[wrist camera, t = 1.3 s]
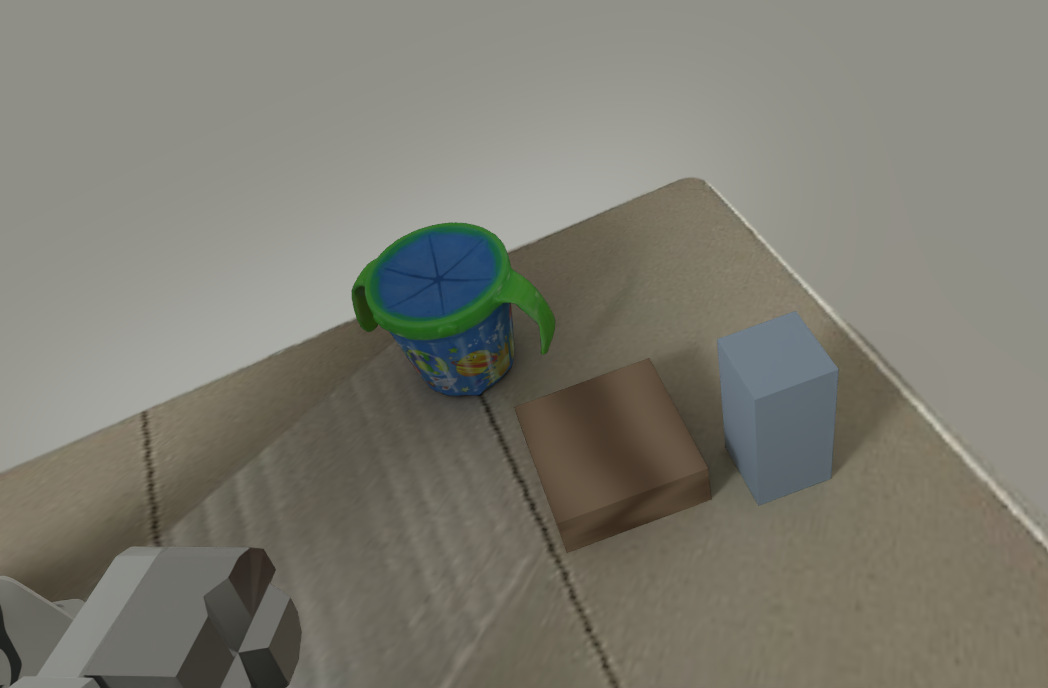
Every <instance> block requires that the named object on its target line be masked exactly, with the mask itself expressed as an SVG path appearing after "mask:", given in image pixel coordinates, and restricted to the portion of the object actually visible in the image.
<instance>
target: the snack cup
mask: <svg viewBox="0 0 1048 688" xmlns="http://www.w3.org/2000/svg"><path fill="white" fill-rule="evenodd" d="M352 301H353V306H354V311H355V314H356V317H357V320H358V322H359V324H360V326H361V327H362V328H363V329H364V330H365V331H367V332H371V331H373V330H374V329H375V328H376V327H377V325H378V324H379V325H380V326H381V327H382V328H383V329H385V330H387V331H390V333H391V334H392V336H393V337H394V339H395V340H396V342H397V343H398V345H399V346H400V347H401V349H402V350H403V352H404V353H405V354H406V356H407V358H408V359H409V360H410V362H411V363H412V365H413V366H414V368H415V369H416V370H417V371H418V372H419V374H420V375H421V377H422V378H423V379H424V381H425V382H426V383H427V384H428V385H429V387H430V388H432V389H433V390H434V391H439V392H441V393H443V394H445V395H451V396H453V395H454V396H461V395H480V394H481V393H482V392H483V391H484V390H485V389H486V388H488V387H490V386H492V385H493V384H495V383H496V382H497V381H499V380H500V379H501V378H502V377H503V376H504V375H505V374H506V372H507V371H508V370H509V369H510V368H511V365H512V363H513V357H514V337H513V322H512V312H511V303H514V304H516V305H517V306H518V307H519V308H520V309H522V310H523V311H524V312H525V313H526V314H528V316H530V317H531V318H532V319H533V320H534V321H535V322H537V324H538V325H539V329H540V340H541V354H546V353H547V351H548V348H549V346H550V343H551V340H552V337H553V334H554V330H555V318H554V315H553V313H552V311H551V310H550V307H549V306H548V304H547V302H546V301H545V299H544V298H543V297H542V295H541V294H540V293H539V291H538V290H537V289H536V288H535V287H534V286H533V285H532V284H531V283H530V282H529V281H528V280H527V279H525V278H524V277H523V276H522V275H520V274H518V273H517V272H515V271H514V270H513V269H512V268H511V265H510V260H509V257H508V254H507V251H506V249H505V246H504V245H503V243H502V242H501V240H500V239H499V238H498V237H497V236H496V235H495V234H493V233H491V232H490V231H488V230H486V229H484V228H482V227H479V226H476V225H471V224H467V223H444V224H437V225H432V226H428V227H425V228H422V229H419V230H416V231H414V232H411V233H410V234H408V235H405V236H403V237H402V238H400V239H398V240H397V241H395V242H394V243H393V244H392V245H390V246H389V247H387V248H386V249H385V250H384V251H383V252H382V253H381V254H380V256H379V257H378V258H377V259H375V260H373V261H371V262H370V263H369V264H368V265H367V266H366V267H365V268H364V269H363V271H362V272H361V273H360V275H359V277H358V278H357V280H356V282H355V283H354V286H353V289H352Z"/></svg>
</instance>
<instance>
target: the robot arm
mask: <svg viewBox="0 0 1048 688" xmlns="http://www.w3.org/2000/svg"><path fill="white" fill-rule="evenodd" d="M275 570H276V569H275V567H274V566H273V564H272V562H271V560H270V559H269V557H268V555H267V554H266V552H265V550H264V549H260V548H251V547H188V546H170V547H138V546H131V547H130V548H128V549H126V550H125V551H123V552H122V553H120V554H119V555H117V556H116V557H115V559H114V560H113V562H112V563H111V565H110V566H109V568H108V569H107V571H106V572H105V574H104V575H103V577H102V578H101V580H100V581H99V583H98V584H97V586H96V587H95V589H94V590H93V592H92V593H91V595H90V596H89V598H88V599H87V601H86V602H84V601H83V600H81V599H69V600H62V601H55V602H50V601H48V600H47V599H45V598H44V597H42V596H40V595H39V594H37V593H36V592H34V591H32V590H31V589H29V588H28V587H26V586H24V585H23V584H21V583H20V582H18V581H16V580H15V579H13V578H10V577H7V576H0V688H286V687H287V686H288V685H289V683H290V681H291V678H292V675H293V673H294V670H295V668H296V665H297V662H298V660H299V651H300V642H301V633H302V632H301V626H300V621H299V616H298V612H297V610H296V608H295V606H294V604H293V602H292V600H291V598H290V597H289V596H288V595H287V594H285V593H284V592H282V591H281V590H279V589H278V588H276V587H275V586H274V585H272V584H271V583H270V582H271V580H272V578H273V575H274V573H275Z"/></svg>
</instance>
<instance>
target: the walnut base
mask: <svg viewBox="0 0 1048 688" xmlns="http://www.w3.org/2000/svg"><path fill="white" fill-rule="evenodd" d="M514 408H515V411H516V414H517V417H518V419H519V422H520V425H521V428H522V431H523V434H524V437H525V439H526V442H527V445H528V448H529V450H530V453H531V456H532V458H533V461H534V464H535V467H536V469H537V472H538V475H539V478H540V480H541V483H542V486H543V488H544V491H545V494H546V497H547V499H548V502H549V505H550V507H551V510H552V513H553V516H554V518H555V521H556V524H557V526H558V529H559V532H560V535H561V537H562V540H563V543H564V546H565V548H566V551H567V553H568V552H571V551H573V550H576V549H579V548H581V547H584V546H587V545H590V544H592V543H595V542H598V541H600V540H603V539H606V538H608V537H611V536H614V535H617V534H619V533H622V532H625V531H627V530H630V529H633V528H635V527H638V526H641V525H644V524H646V523H649V522H652V521H654V520H657V519H660V518H662V517H665V516H668V515H671V514H673V513H676V512H679V511H681V510H684V509H687V508H689V507H692V506H695V505H698V504H700V503H703V502H706V501H708V500H711V491H710V481H709V472H708V467H707V465H706V463H705V461H704V460H703V458H702V456H701V454H700V452H699V450H698V448H697V446H696V445H695V443H694V441H693V439H692V437H691V435H690V433H689V432H688V430H687V428H686V426H685V424H684V422H683V420H682V418H681V417H680V415H679V413H678V411H677V409H676V407H675V405H674V403H673V402H672V400H671V398H670V396H669V394H668V392H667V390H666V389H665V387H664V385H663V383H662V381H661V379H660V377H659V375H658V374H657V372H656V370H655V368H654V366H653V364H652V362H651V361H650V359H649V358H648V359H646V360H643V361H640V362H637V363H634V364H632V365H629V366H626V367H623V368H621V369H618V370H615V371H612V372H610V373H607V374H604V375H601V376H599V377H596V378H593V379H590V380H588V381H585V382H582V383H579V384H577V385H574V386H571V387H568V388H566V389H563V390H560V391H557V392H555V393H552V394H549V395H546V396H543V397H541V398H538V399H535V400H532V401H530V402H527V403H524V404H521V405H519V406H516V407H514Z"/></svg>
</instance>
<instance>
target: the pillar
mask: <svg viewBox="0 0 1048 688" xmlns="http://www.w3.org/2000/svg"><path fill="white" fill-rule="evenodd" d="M717 345H718V358H719V370H720V383H721V396H722V409H723V421H724V434H725V447H726V449H727V450H728V452H729V454H730V456H731V458H732V459H733V461H734V463H735V465H736V466H737V468H738V470H739V472H740V473H741V475H742V477H743V479H744V481H745V482H746V484H747V486H748V488H749V489H750V491H751V493H752V495H753V497H754V498H755V500H756V502H757V504H758V505H761V504H764V503H767V502H769V501H772V500H775V499H778V498H780V497H783V496H786V495H788V494H791V493H794V492H796V491H799V490H802V489H804V488H807V487H810V486H813V485H815V484H818V483H821V482H823V481H826V480H829V479H831V472H832V457H833V443H834V428H835V414H836V400H837V385H838V371H839V369H838V368H837V366H836V365H835V364H834V362H833V361H832V360H831V358H830V357H829V356H828V354H827V353H826V352H825V350H824V349H823V347H822V346H821V345H820V343H819V342H818V341H817V339H816V338H815V337H814V335H813V334H812V332H811V331H810V330H809V328H808V327H807V326H806V324H805V323H804V322H803V320H802V319H801V317H800V316H799V315H798V313H797V312H796V311H794V312H791V313H789V314H786V315H783V316H780V317H778V318H775V319H772V320H769V321H766V322H764V323H761V324H758V325H755V326H753V327H750V328H747V329H744V330H742V331H739V332H736V333H733V334H731V335H728V336H725V337H722V338H720V339H717Z"/></svg>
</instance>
